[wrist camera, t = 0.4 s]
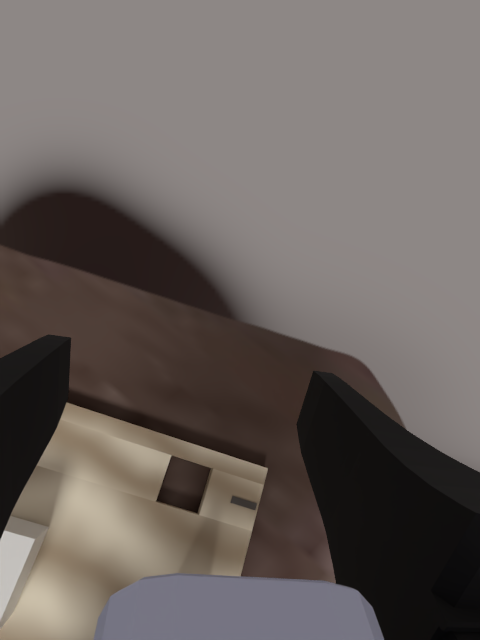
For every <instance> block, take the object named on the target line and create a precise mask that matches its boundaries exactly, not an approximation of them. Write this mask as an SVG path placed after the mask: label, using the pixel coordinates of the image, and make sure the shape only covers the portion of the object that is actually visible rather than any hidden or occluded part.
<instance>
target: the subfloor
mask: <svg viewBox="0 0 480 640" xmlns="http://www.w3.org/2000/svg"><path fill="white" fill-rule="evenodd" d="M171 456H175V457H178V458H181V459H184V460H187V461H190V462H193V463H197V464H200V465H203V466H206V467H209V468H211V470H210V473H209V477H208V480H207V483H206V486H205V490H204V493H203V496H202V500H201V503H200V506H199V509H198V513H195V512H192V511H189V510H185V509H182V508H179V507H176V506H172V505H169V504H166V503H162V502H159V501H156V500H157V497H158V494H159V491H160V488H161V485H162V482H163V479H164V476H165V473H166V470H167V467H168V464H169V461H170V458H171ZM267 471H268V468H265V467H262V466H259V465H256V464H253V463H250V462H247V461H244V460H241V459H238V458H235V457H232V456H228V455H225V454H222V453H219V452H216V451H213V450H210V449H207V448H204V447H201V446H198V445H195V444H192V443H189V442H186V441H183V440H180V439H177V438H174V437H170V436H167V435H164V434H161V433H158V432H155V431H152V430H149V429H146V428H143V427H140V426H137V425H134V424H131V423H128V422H125V421H122V420H119V419H115V418H112V417H109V416H106V415H103V414H100V413H97V412H94V411H91V410H88V409H85V408H82V407H79V406H76V405H73V404H70V403H66V405H65V408H64V411H63V414H62V416H61V419H60V421H59V424H58V426H57V429H56V431H55V432H54V434H53V436H52V438H51V440H50V442H49V444H48V445H47V447H46V449H45V451H44V453H43V455H42V456H41V458H40V460H39V462H38V464H37V465H36V467H35V469H34V471H33V473H32V475H31V476H30V478H29V480H28V482H27V484H26V485H25V487H24V489H23V491H22V493H21V495H20V497H19V499H18V501H17V503H16V505H15V507H14V509H13V511H12V513H11V515H10V516H13V517H16V518H20V519H23V520H27V521H30V522H34V523H37V524H41V525H44V526H48V527H49V528H48V531H47V533H46V535H45V538H44V540H43V543H42V545H41V547H40V550H39V552H38V554H37V557H36V559H35V562H34V564H33V566H32V569H31V571H30V574H29V576H28V578H27V581H26V583H25V585H24V588H23V590H22V593H21V595H20V597H19V600H18V602H17V605H16V607H15V609H14V612H13V613H12V614H11V616H10V617H9V618H8V620H7V621H6V622H5V624H4V625H3V626H2V628H1V629H0V640H94V635H95V630H96V626H97V621H98V617H99V616H100V614H101V612H102V610H103V608H104V607H105V605H106V603H107V601H108V600H109V598H110V596H111V595H113V594H114V593H116V592H118V591H119V590H121V589H123V588H125V587H127V586H129V585H130V584H132V583H134V582H136V581H138V580H140V579H142V578H143V577H149V576H158V575H166V574H174V573H185V574H204V575H223V576H241V572H242V568H243V564H244V561H245V557H246V553H247V549H248V545H249V541H250V537H251V533H252V529H253V525H254V521H255V518H256V514H257V510H258V506H259V502H260V498H261V494H262V490H263V486H264V482H265V478H266V475H267Z"/></svg>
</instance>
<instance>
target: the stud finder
mask: <svg viewBox="0 0 480 640" xmlns="http://www.w3.org/2000/svg"><path fill="white" fill-rule="evenodd" d="M48 528H49V527H48V526H44V525H41V524H37V523H34V522H30V521H27V520H23V519H20V518H16V517H13V516H10V518H9V520H8V523H7V525H6V527H5V530H4V532H3V535H2V537H1V539H0V629H1V628H2V626H3V625H4V624H5V622H6V621H7V620H8V618H9V617H10V616H11V614H12V613H13V612H14V609H15V607H16V605H17V602H18V600H19V597H20V595H21V593H22V590H23V588H24V585H25V583H26V581H27V578H28V576H29V574H30V571H31V569H32V566H33V564H34V562H35V559H36V557H37V554H38V552H39V550H40V547H41V545H42V543H43V540H44V538H45V535H46V533H47V531H48Z"/></svg>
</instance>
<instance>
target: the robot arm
mask: <svg viewBox="0 0 480 640" xmlns="http://www.w3.org/2000/svg"><path fill="white" fill-rule="evenodd" d="M70 348H71V338H70V337H63V336H55V335H46V336H44V337H42V338H39V339H37V340H35V341H33V342H32V343H30V344H28V345H26V346H24V347H22V348H20V349H18V350H16V351H14V352H12V353H10V354H8V355H6V356H4V357H2V358H0V539H1V537H2V535H3V532H4V530H5V527H6V525H7V523H8V520H9V518H10V515H11V513H12V511H13V509H14V507H15V505H16V503H17V501H18V499H19V497H20V495H21V493H22V491H23V489H24V487H25V485H26V484H27V482H28V480H29V478H30V476H31V475H32V473H33V471H34V469H35V467H36V465H37V464H38V462H39V460H40V458H41V456H42V455H43V453H44V451H45V449H46V447H47V445H48V444H49V442H50V440H51V438H52V436H53V434H54V432H55V431H56V429H57V426H58V424H59V421H60V419H61V416H62V414H63V411H64V408H65V405H66V403H67V400H68V391H69V369H70ZM297 430H298V437H299V443H300V448H301V453H302V457H303V460H304V463H305V466H306V470H307V473H308V476H309V479H310V482H311V485H312V488H313V491H314V495H315V498H316V501H317V504H318V507H319V510H320V513H321V516H322V520H323V523H324V527H325V531H326V534H327V539H328V544H329V549H330V554H331V558H332V563H333V568H334V574H335V579H336V584H335V583H331V582H327V581H319V580H300V579H281V578H261V577H242V576H223V575H204V574H185V573H174V574H166V575H158V576H149V577H143V578H142V579H140V580H138V581H136V582H134V583H132V584H130V585H129V586H127V587H125V588H123V589H121V590H119V591H118V592H116V593H114V594H113V595H111V596H110V598H109V600H108V601H107V603H106V605H105V607H104V608H103V610H102V612H101V614H100V616H99V617H98V621H97V626H96V630H95V635H94V640H480V472H478V471H476V470H474V469H472V468H470V467H468V466H466V465H464V464H462V463H460V462H458V461H456V460H455V459H453V458H451V457H449V456H447V455H445V454H444V453H442V452H440V451H439V450H437V449H435V448H434V447H432V446H431V445H429V444H427V443H426V442H424V441H423V440H421V439H419V438H418V437H416V436H415V435H413V434H411V433H410V432H409V431H407V430H406V429H405V428H403V427H402V426H400V425H399V424H398V423H396V422H395V421H394V420H392V419H391V418H389V417H388V416H387V415H386V414H384V413H383V412H382V411H380V410H379V409H378V408H377V407H375V406H374V405H373V404H371V403H370V402H369V401H368V400H367V399H365V398H364V397H363V396H362V395H360V394H359V393H358V392H357V391H355V390H354V389H353V388H352V387H350V386H349V385H348V384H347V383H345V382H344V381H343V380H341V379H340V378H339V377H337V376H336V375H334V374H332V373H326V372H319V371H313V374H312V377H311V380H310V383H309V387H308V390H307V393H306V396H305V399H304V402H303V406H302V409H301V412H300V415H299V418H298V421H297Z"/></svg>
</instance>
